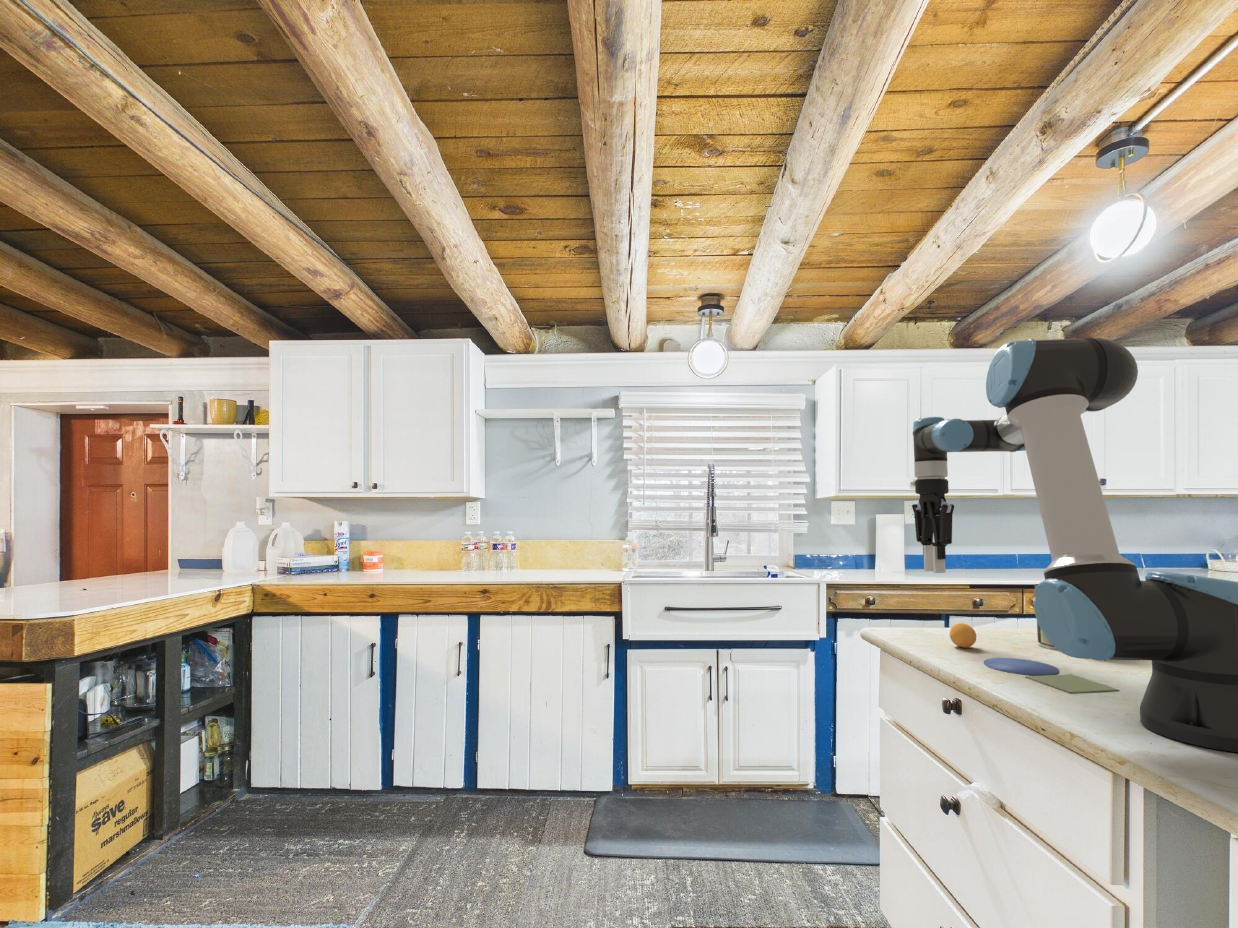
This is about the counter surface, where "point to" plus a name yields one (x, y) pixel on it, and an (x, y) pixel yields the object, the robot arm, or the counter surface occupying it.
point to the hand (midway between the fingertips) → (934, 571)
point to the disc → (1021, 666)
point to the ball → (963, 635)
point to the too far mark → (1071, 683)
